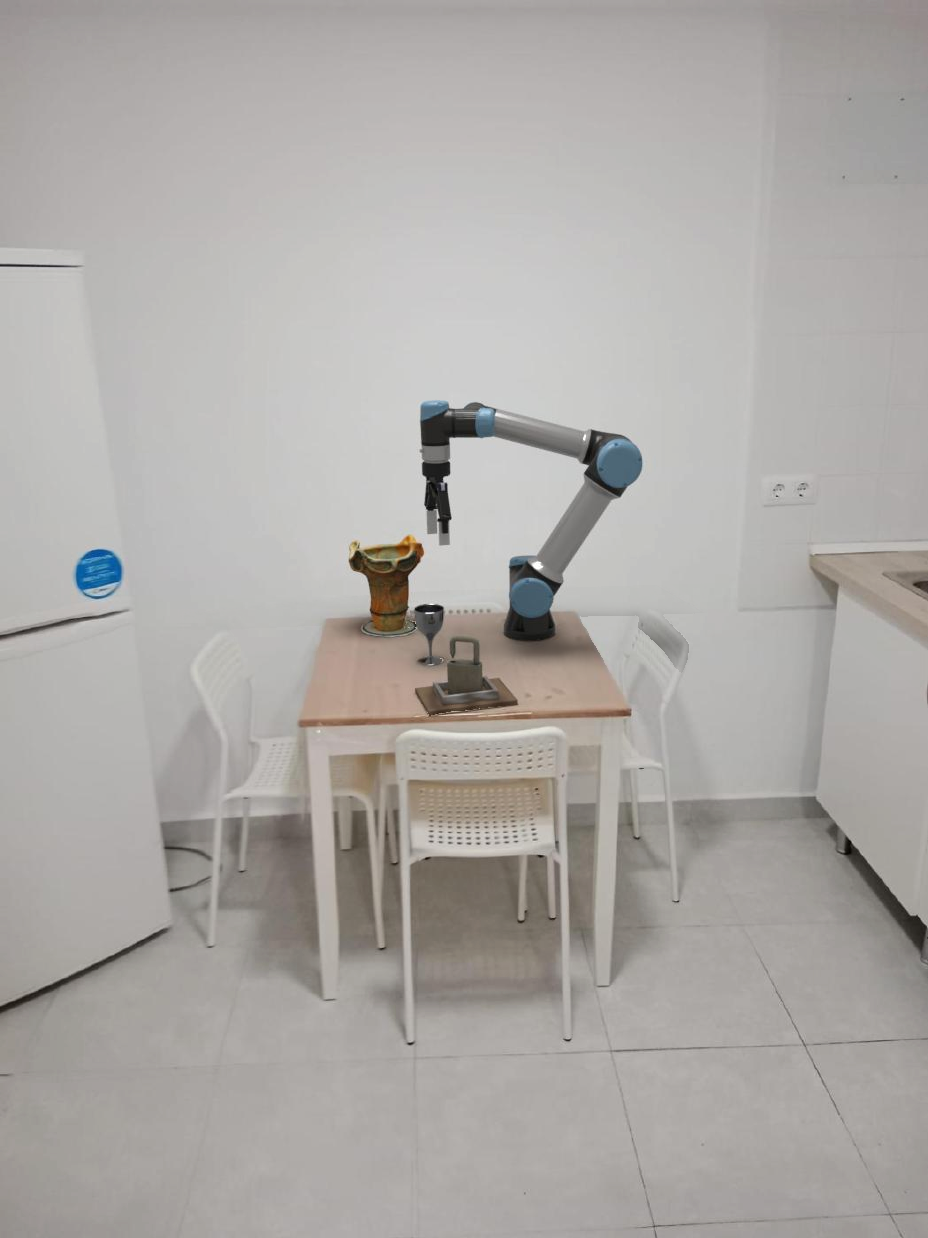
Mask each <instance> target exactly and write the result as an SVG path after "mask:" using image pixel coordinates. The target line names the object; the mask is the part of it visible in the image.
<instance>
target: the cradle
mask: <svg viewBox="0 0 928 1238" xmlns="http://www.w3.org/2000/svg"><path fill="white" fill-rule="evenodd" d="M414 692H415V695H416V696H417V698H418V700H419V701H421V702H420V703H421V705H422V704H423V705H422V707H423V706H424V707H423V708H424V710H425V709H426V710H425V711H427V712H428V713H427V712H426V713H427V715H428V714H429V715H428V717H432V716H431V715H435V714H439V713H446V712H451V711H465V710H473V709H479V708H480V710H483V709H482V708H488V707H495V708H499V707H498V706H503V707H509V706H510V705H511V706H516V705H517V706H518V701H519V700H518V699H517V697H516V696H515V695H514V693H513V692H512V691H511V690H510V689H509V688H508V687H507V685H506V684H505V682H503V680H502V679H500V677H493V678H489V676H488V675H482V691H478V692H470V693H462V694H454V695H450V694H448V680H442V681H434V682H432V685H430V686H421V687H415V688H414ZM507 705H509V706H507ZM488 709H489V708H488ZM473 711H474V710H473ZM465 712H466V711H465ZM435 716H436V715H435Z"/></svg>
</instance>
